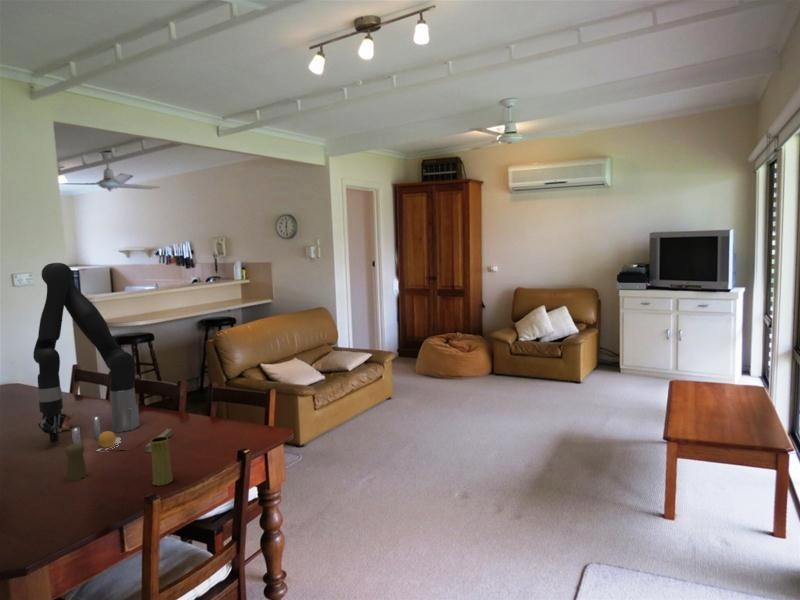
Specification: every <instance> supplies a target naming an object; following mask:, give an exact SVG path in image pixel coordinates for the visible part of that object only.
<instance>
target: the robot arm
mask: <svg viewBox="0 0 800 600" xmlns="http://www.w3.org/2000/svg"><path fill="white" fill-rule="evenodd" d="M41 279H42V280H43V282H44V283H45V284H46V296H45V297H46V298H45V302H44V306H43V309H42V312H41V315H40V320H39V327H38V333H37V334H38V335H37V339H36V341H35V346H34V349H33V360H34V361H35V363H37V364H38V369H39V371H38V372H39V373H38V375H37V387H38V390H37V391H38V392H37V394H38V395H37V397H38V407H39V412H40V413H41V414H42V421H41V422H39V423H38V427H39V428H40V430H41V431H42V432H43V433H44V434H49V441H50V443H51V444H52V443H58V441H59V438H60V437H59V432H58V431H59V429H61V428H62V425H63V423H64V420H65V417H66V414H67V413H62V410H63V408H64V405H63V393H62V388H61V380H60V368H61V367H60V366H61V358H60V353H59V352H58V351H57V349H56V346H57V341H58V340H60V337H61V334H62V333H61V331H62V323H63V316H64V309H66V310H67V311H66V312H68V314H69V315H70V317H71V319H72V320H73V322H74V323H75V325H76V326H77V327H78V328H79V330H80V331H81V332H82V333H83V335H84V336H85V337H86V338H87V339H88V341H90V343H91V344H92V345H93V346H94V347H95V348H96V350H97V351H98V353H99V354H100V356H101V358H102V360H103V362H104V363H105V366H106V367H107V368H108V370H109V371H110V372H109V374H110V382H109V384H108V385H109V399H110V411H111V420H112V421H111V422H112V430H113V431H112V432H114V433H115V432H116V433H123V431H125V432H128V431H129V430H131V431H134V430H135V429H137V428H138V427H140V426H139V425H140V412H139V411H140V410H139V404H138V403H137V401H136V389H135V386H136V385H135V382H136V366H135V358H134V356H133V355H132V354H131V353H130V352H127V351H125V350H124V349H123V348H122V347H121V346H120V345H119V344H118V343H117V341H116V340H115V339H114V337H113V335H112V333H111V331H110V328H109V325H108V324H107V322H106V320H105V318H104V317H103V315H102V314H101V312H100V311H99V310H98V308H97V307H96V306H95V305H94V304H93V303H92V302H91V301H90V300H89V299H88V297H86V296H85V295H84V294H83V293H82V292H81V291H80V289H78V287H77V285H76V284H75V282H74V281H73V270H72V269H71V267H70V266H69V265H67V264H66V263H63V262H52V263H51V262H50V263H47V264H46V265H44V267H43V268H42V269H41Z"/></svg>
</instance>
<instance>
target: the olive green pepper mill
mask: <svg viewBox="0 0 800 600" xmlns="http://www.w3.org/2000/svg"><path fill="white" fill-rule="evenodd" d="M84 452H85V447H84V445H83V444H82V443H81V444H73V443H72V444H70V445H69V446H67V447H66V449H65V455H66V456H67V469H66V481H68V482H74V481H75V480H76V481H79V480H78V479H80V480H82V479H81V478H83V477H85V476H86V475H87V474H88V475H89V473H88V470H87V466H86V463H85V459H84V456H83V455H84ZM85 478H86V477H85ZM83 479H84V478H83ZM76 481H75V482H76Z"/></svg>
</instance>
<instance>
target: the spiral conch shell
mask: <svg viewBox="0 0 800 600" xmlns="http://www.w3.org/2000/svg"><path fill="white" fill-rule="evenodd" d="M65 414H66V417H65V420H64V423H63V425H62V428H61V429H59V431H58V433H60V432H62V430H63V431H71V428H70V427H71V423H70V422H69V421H70V420H71V419H73V418H74V417H75V415H74V414H67V413H65Z"/></svg>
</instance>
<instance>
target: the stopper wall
mask: <svg viewBox="0 0 800 600" xmlns="http://www.w3.org/2000/svg"><path fill="white" fill-rule="evenodd" d="M172 434H173V428H166V430H164V431H163V432H161V433H160V434H159V435H158V436H157V437H161V436H166V437H169V436H171V435H172ZM172 436H173V435H172ZM172 436H171V437H172ZM144 448H145V449H144V450H145V453H146V452H151V441H150V442H149V443H147V444H146V445H145V446H144Z"/></svg>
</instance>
